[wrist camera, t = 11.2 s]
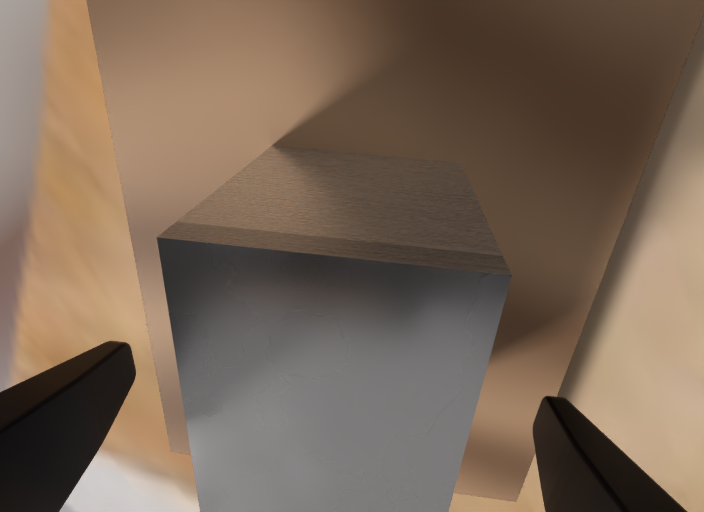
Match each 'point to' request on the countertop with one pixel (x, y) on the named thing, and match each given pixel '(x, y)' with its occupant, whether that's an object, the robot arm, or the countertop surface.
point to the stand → (408, 145)
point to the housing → (332, 331)
